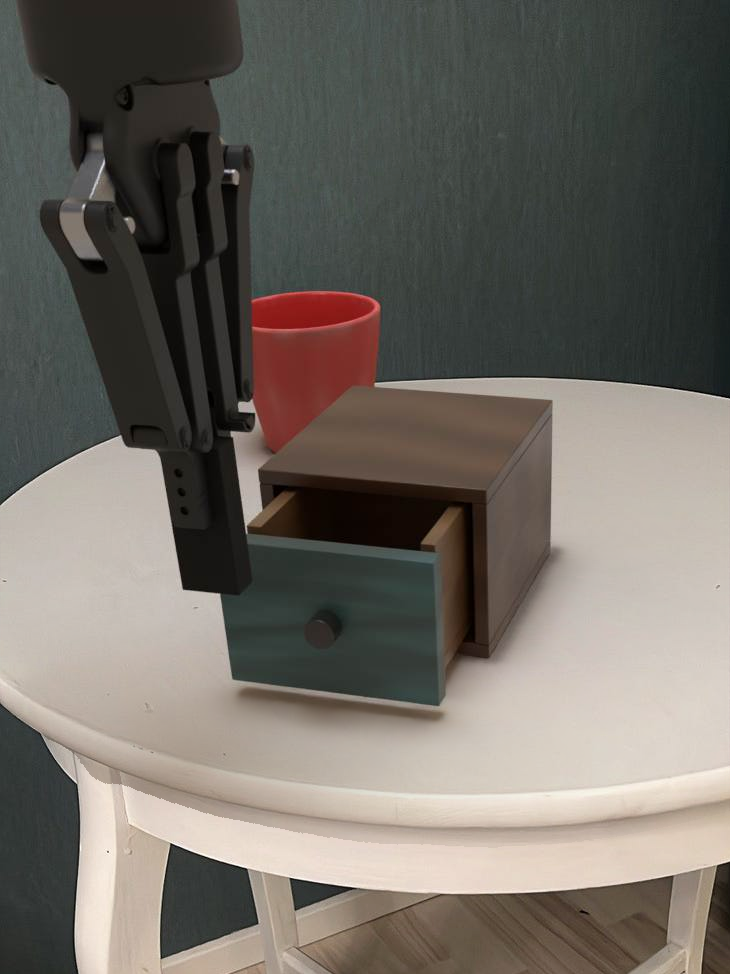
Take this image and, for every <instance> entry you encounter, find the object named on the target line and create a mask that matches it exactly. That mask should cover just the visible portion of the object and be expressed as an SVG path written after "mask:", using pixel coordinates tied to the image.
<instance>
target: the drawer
mask: <svg viewBox="0 0 730 974" xmlns="http://www.w3.org/2000/svg"><path fill="white" fill-rule="evenodd" d="M472 504H473V503H469V502H458V501H447V500H436V499H426V498H415V497H404V496H393V495H382V494H371V493H361V492H350V491H339V490H328V489H317V488H306V487H295V486H288V487H287V488H286V489H285V490H284V491H283V492H282V493H280V494H279V495H278V496H277V497H276V498H275V499H274V500H273V501H272V502H271V503H270V504H269V505H268V506H267V507H266V508H265V509H264V510H263V511H262V510H261V511H260V512H259V513H258V514H257V515H256V516H255V517H254V518H253V519H251V521H250V522H249V523H247V524H246V536H247V544H248V551H249V559H250V566H251V573H252V581H253V582H252V583H251V584H250V585H249V586H248V587H247V588H246V589H245V590H244V591H243V592H242V593H241V594H240V595H239V596H237V595H227V594H219V597H220V604H221V610H222V618H223V624H224V631H225V639H226V646H227V653H228V661H229V666H230V667H229V668H230V674H231V680H233V681H239V682H246V683H247V682H248V683H255V684H263V685H269V686H278V687H285V688H294V689H301V690H302V689H303V690H307V691H308V690H309V691H317V692H325V693H331V694H332V693H333V694H340V695H347V696H348V695H349V696H355V697H363V698H370V699H378V700H379V699H380V700H387V701H395V702H402V703H409V704H418V705H425V706H433V707H440V706H441V704H442V702H443V700H444V699H445V698H446V696H447V691H446V690H447V689H446V688H447V687H446V668H447V666H448V665H449V663H450V661H451V660H452V659H453V657H454V655H456V654H455V652H456V650H457V649H458V647H459V646H460V644H461V642H462V641H463V639H464V638H465V636H466V634H467V633H468V631H469V630H470V628H471V626H472V625H473V623H474V622H475V611H474V564H473V517H472Z"/></svg>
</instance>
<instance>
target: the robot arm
mask: <svg viewBox="0 0 730 974" xmlns="http://www.w3.org/2000/svg"><path fill="white" fill-rule="evenodd" d="M15 3H16V8H17V13H18V19H19V24H20V29H21V33H22V39H23V43H24V50H25V54H26V59H27V64H28V67H29V70H30V71H31V73H32V74H33V76H35V78H36V79H38V80H39V81H41V82H43V83H45V84H47V85H51V86H58V87H60V89H62V91H63V92H64V93H65V95H66V96H67V99H68V109H69V110H68V111H69V132H68V133H69V135H68V150H69V155H70V161H71V163H72V165H73V168H74V170H75V172H76V175H75V178H74V181H73V183H72V186H71V188H70V190H69V193H68V196H67V198H66V199H57V198H55V199H54V198H47V199H44V200H43V201H42V203H41V206H40V209H39V221H40V226H41V228H42V230H43V233H44V235H45V236H46V238H47V240H48V241H49V243H50V245H51V246H52V248H53V250H54V251H55V253H56V255H57V256H58V258H59V259H60V261H61V262H62V265H63V266H64V268H65V269H66V273H67V275H68V278H69V282H70V285H71V287H72V291H73V293H74V294H73V295H74V297H75V300H76V303H77V306H78V309H79V313H80V315H81V318H82V322H83V324H84V327H85V329H86V334H87V337H88V339H89V342H90V345H91V348H92V352H93V355H94V357H95V361H96V363H97V366H98V367H97V368H98V370H99V372H100V375H101V376H100V377H101V378H102V382H103V385H104V388H105V391H106V395H107V397H108V400H109V403H110V407H111V409H112V413H113V415H114V419H115V421H116V424H117V427H118V430H119V433H120V437H121V439H122V442H123V445H124V446H125V447H126V448H129V449H140V450H153V451H155V452H156V453H157V454H158V456H159V459H160V460H159V461H160V464H161V470H162V476H163V481H164V487H165V494H166V499H167V505H168V512H169V517H170V518H169V519H170V522H171V529H172V535H173V540H174V547H175V553H176V559H177V563H178V565H177V566H178V571H179V577H180V583H181V588H182V590H183V591H188V592H189V591H190V592H200V593H210V594H218V595H220V594H227V595H237V596H239V595H240V594H241V593H242V592H243V591H244V590H245V589H246V588H247V587H248V586H249V585H250V584H251V583H252V582H253V581H252V573H251V566H250V559H249V551H248V544H247V536H246V534H247V528H246V522H245V515H244V509H243V502H242V501H243V500H242V493H241V486H240V485H241V484H240V478H239V472H238V463H237V456H236V450H235V449H236V448H235V441H234V436H232V433H231V432H235V433H249V434H250V433H251V432H253V430H254V429H255V427H256V426H255V425H256V419H257V418H256V412H247V411H240V410H239V403H250V402H252V397H253V393H254V370H253V331H252V300H253V299H252V298H253V297H252V296H253V295H252V265H251V264H252V260H251V259H252V258H251V256H252V255H251V220H250V217H251V215H250V208H251V199H252V190H253V181H254V175H255V174H254V173H255V155H254V151H253V148H252V147H251V145H249V144H241V143H237V144H235V143H227V141H226V140H225V139H224V138H223V137H222V136H221V119H220V112H219V109H218V107H217V104H216V101H215V98H214V94H213V90H212V87H211V83H210V80H215V79H219V78H223V77H226V76H228V75H231V74H233V73H235V72H236V71H237V70H238V69H239V68H240V67H241V65H242V63H243V61H244V56H245V55H244V52H245V51H244V44H243V35H242V25H241V17H240V10H239V9H240V8H239V0H15Z"/></svg>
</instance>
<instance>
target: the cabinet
mask: <svg viewBox="0 0 730 974" xmlns="http://www.w3.org/2000/svg"><path fill="white" fill-rule="evenodd" d="M553 407H554V406H553V400H552V399H544V398H530V397H518V396H517V397H516V396H504V395H503V396H502V395H489V394H477V393H474V394H473V393H463V392H450V391H449V392H448V391H437V390H436V391H435V390H421V389H408V388H395V387H394V388H393V387H381V386H380V387H379V386H374V387H368V386H354V385H353V386H352V387H351V388H349V389H348V390H347V391H346V392H345V393H344V394H343V395H341V396H340V397H339V398H338V399H337V400H336V401H335V402H334V403H332V404H331V405H330V406H329V407H328V408H327V409H326V410H325V411H323V412H322V413H321V414H320V415H319V416H318V417H317V418H315V419H314V420H313V421H312V422H311V423H310V424H309V425H308V426H306V427H305V428H304V429H303V430H302V431H301V432H300V433H299V434H297V435H296V436H295V437H294V438H293V439H292V440H291V441H289V442H288V443H287V444H286V445H285V446H284V447H283V448H282V449H280V450H279V451H278V452H277V453H276V452H275V454H273V455H272V456H270V458H269V459H268V460H267V461H265V462H264V463H263V464H262V465H260V467H259V468H258V469H257V474H258V483H259V493H260V501H261V511H263V510H264V509H265V508H266V507H267V506H268V505H269V504H270V503H271V502H272V501H273V500H274V499H275V498H276V497H277V496H278V495H279V494H280V493H282V492H283V491H284V490H285V489H286V488H287V487H288V486H295V487H306V488H317V489H328V490H339V491H350V492H361V493H371V494H382V495H393V496H404V497H415V498H426V499H436V500H447V501H458V502H469V503H473V504H472V517H473V564H474V611H475V622H474V623H473V625H472V626H471V628H470V630H469V631H468V633H467V634H466V636H465V638H464V639H463V641H462V642H461V644H460V646H459V647H458V649H457V650H456V652H455V654H454V655H461V656H462V655H463V656H470V657H477V658H490V656H491V655H492V653H493V651H494V649H495V648H496V647H497V644H498V643H499V641H500V640H501V638H502V636H503V634H504V632H505V631H506V629H507V627H508V626H509V624H510V622H511V620H512V618H513V617H514V615H515V614H516V612H517V610H518V608H519V607H520V605H521V603H522V602H523V600H524V598H525V596H526V595H527V593H528V591H529V589H530V588H531V586H532V584H533V582H534V581H535V579H536V577H537V575H538V574H539V572H540V571H541V569H542V567H543V565H544V563H545V562H546V560H547V558H548V556H549V555H550V554H551V544H552V543H551V542H552V541H551V540H552V538H551V537H552V478H553V477H552V476H553V475H552V474H553V466H552V465H553Z"/></svg>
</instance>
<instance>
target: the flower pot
mask: <svg viewBox="0 0 730 974" xmlns="http://www.w3.org/2000/svg"><path fill="white" fill-rule="evenodd" d="M381 307H382V306H381V304H380V303H379V302H378V301H377V300H376V299H374V298H372V297H370V296H366V295H362V294H358V293H353V292H344V291H332V290H330V291H329V290H327V291H326V290H325V291H324V290H323V291H322V290H315V291H314V290H312V291H311V290H310V291H296V292H286V293H279V294H273V295H268V296H262V297H260V298H259V297H258V298H256V299H252V331H253V370H254V393H253V397H252V399H251V402H252V404H253V407H254V409H255V414H256V415H257V418H258V422H259V425H260V428H261V431H262V434H263V437H264V440H265V443H266V445H267V447H268V448H269V450H271V451H272V452H274V453H275V454H276V453H277V452H278V451H279V450H280V449H282V448H283V447H284V446H285V445H286V444H287V443H288V442H289V441H291V440H292V439H293V438H294V437H295V436H296V435H297V434H299V433H300V432H301V431H302V430H303V429H304V428H305V427H306V426H308V425H309V424H310V423H311V422H312V421H313V420H314V419H315V418H317V417H318V416H319V415H320V414H321V413H322V412H323V411H325V410H326V409H327V408H328V407H329V406H330V405H331V404H332V403H334V402H335V401H336V400H337V399H338V398H339V397H340V396H341V395H343V394H344V393H345V392H346V391H347V390H348V389H349V388H351V387H352V386H353V385H354V386H368V387H376V386H375V385H376V374H377V365H378V364H377V363H378V354H379V353H378V352H379V341H380V327H381Z"/></svg>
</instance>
